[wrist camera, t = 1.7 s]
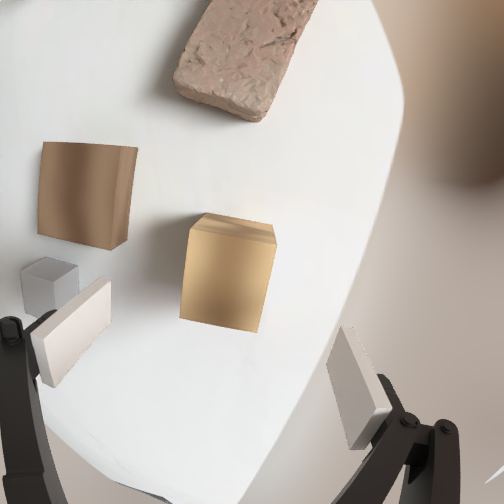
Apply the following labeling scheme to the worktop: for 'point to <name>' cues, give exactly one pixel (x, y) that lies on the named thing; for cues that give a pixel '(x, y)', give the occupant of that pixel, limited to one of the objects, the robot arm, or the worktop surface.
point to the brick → (241, 54)
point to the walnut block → (86, 192)
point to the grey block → (48, 285)
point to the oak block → (227, 271)
